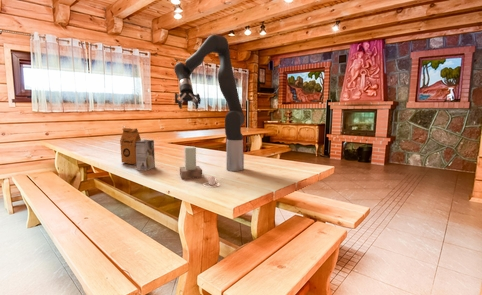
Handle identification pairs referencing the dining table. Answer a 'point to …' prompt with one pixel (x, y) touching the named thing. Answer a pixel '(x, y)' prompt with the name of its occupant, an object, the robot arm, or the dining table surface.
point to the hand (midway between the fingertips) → (189, 107)
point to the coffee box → (145, 154)
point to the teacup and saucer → (211, 181)
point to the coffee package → (129, 145)
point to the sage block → (190, 158)
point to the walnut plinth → (190, 173)
